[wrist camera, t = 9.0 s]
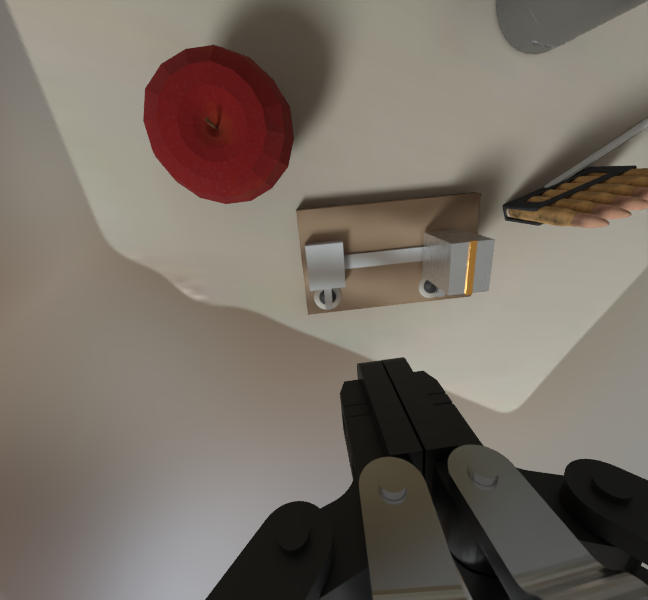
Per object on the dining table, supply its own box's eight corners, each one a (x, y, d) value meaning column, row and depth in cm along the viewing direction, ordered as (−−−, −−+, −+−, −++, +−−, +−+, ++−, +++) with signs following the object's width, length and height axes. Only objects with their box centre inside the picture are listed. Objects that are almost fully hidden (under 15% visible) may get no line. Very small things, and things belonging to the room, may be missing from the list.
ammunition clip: (592, 166, 35) (732, 160, 24) (593, 182, 35) (730, 183, 24) (502, 205, 35) (596, 217, 24) (504, 220, 36) (597, 239, 25)
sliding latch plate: (296, 209, 34) (296, 212, 31) (473, 192, 35) (488, 193, 32) (307, 309, 38) (308, 319, 35) (464, 291, 39) (477, 300, 36)
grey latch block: (423, 231, 34) (452, 243, 27) (459, 227, 34) (495, 238, 28) (421, 295, 36) (447, 319, 30) (454, 292, 37) (486, 315, 30)
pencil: (675, 110, 33) (547, 194, 35) (667, 107, 34) (541, 190, 36) (680, 102, 32) (548, 189, 34) (671, 99, 33) (542, 185, 35)
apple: (175, 181, 32) (112, 182, 21) (187, 60, 28) (119, -14, 17) (280, 210, 33) (273, 225, 23) (304, 100, 30) (309, 56, 19)
